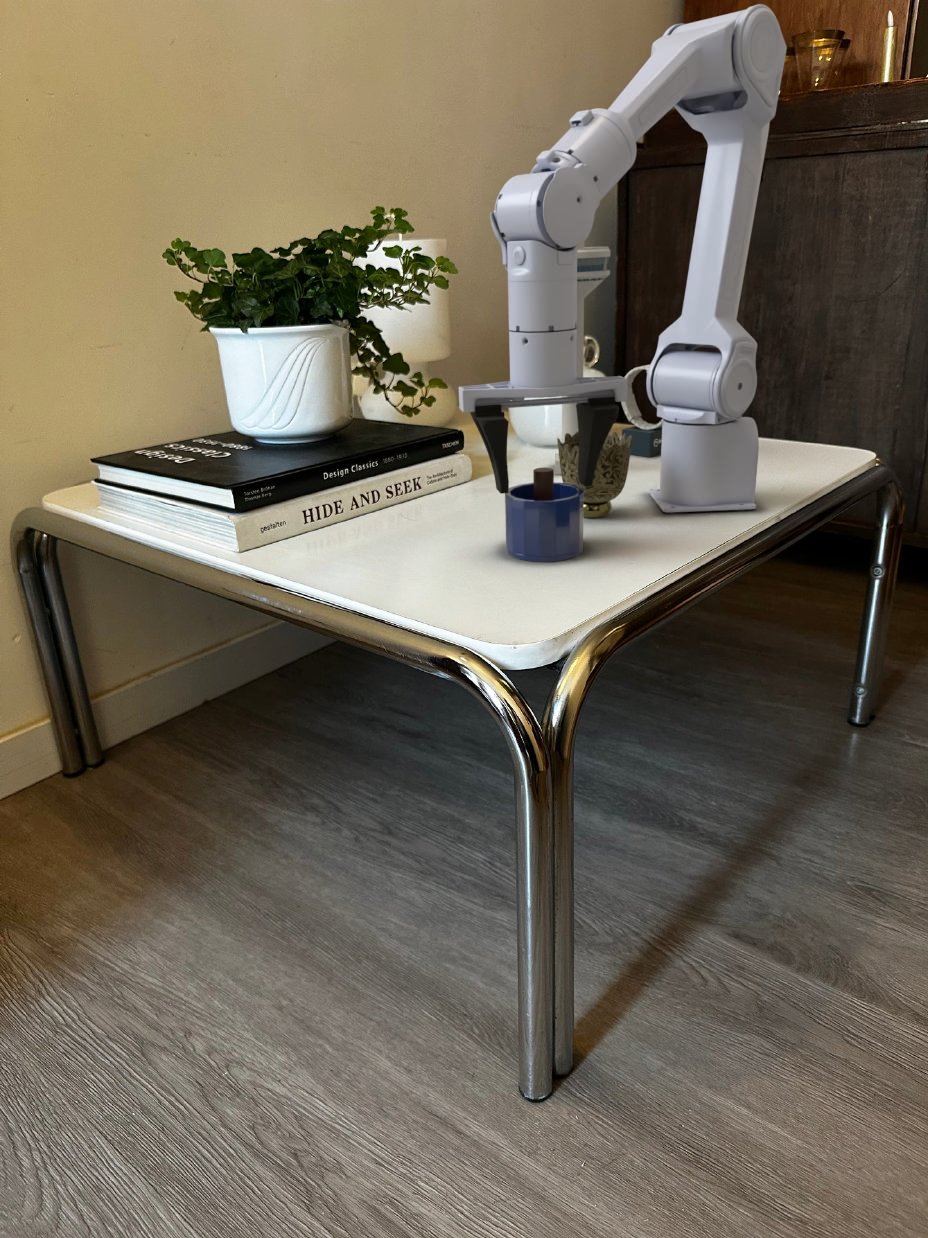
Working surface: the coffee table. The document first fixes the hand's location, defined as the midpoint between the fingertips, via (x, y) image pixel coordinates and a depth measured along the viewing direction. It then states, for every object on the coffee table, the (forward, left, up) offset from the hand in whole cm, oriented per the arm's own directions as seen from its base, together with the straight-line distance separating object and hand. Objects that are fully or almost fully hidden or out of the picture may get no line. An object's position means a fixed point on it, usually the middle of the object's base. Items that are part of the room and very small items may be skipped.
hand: (544, 487), depth 83 cm
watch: (-17, -40, -6) cm, 44 cm away
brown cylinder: (0, 0, -5) cm, 5 cm away
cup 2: (-6, -11, -6) cm, 14 cm away
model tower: (-6, -31, -6) cm, 32 cm away
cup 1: (0, 0, -6) cm, 6 cm away
